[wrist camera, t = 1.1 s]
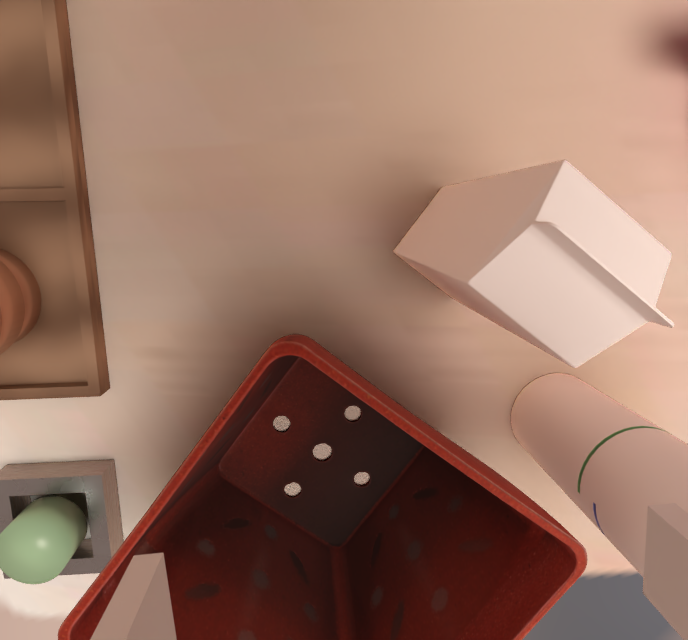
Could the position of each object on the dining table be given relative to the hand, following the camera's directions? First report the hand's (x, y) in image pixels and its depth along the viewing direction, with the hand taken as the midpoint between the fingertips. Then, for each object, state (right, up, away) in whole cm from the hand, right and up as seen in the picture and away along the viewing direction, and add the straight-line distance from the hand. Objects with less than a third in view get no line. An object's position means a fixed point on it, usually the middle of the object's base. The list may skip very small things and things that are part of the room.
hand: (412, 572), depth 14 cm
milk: (+6, +13, +25) cm, 29 cm away
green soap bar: (-23, -8, +25) cm, 35 cm away
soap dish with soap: (-24, -8, +27) cm, 37 cm away
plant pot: (-4, -3, +28) cm, 28 cm away
